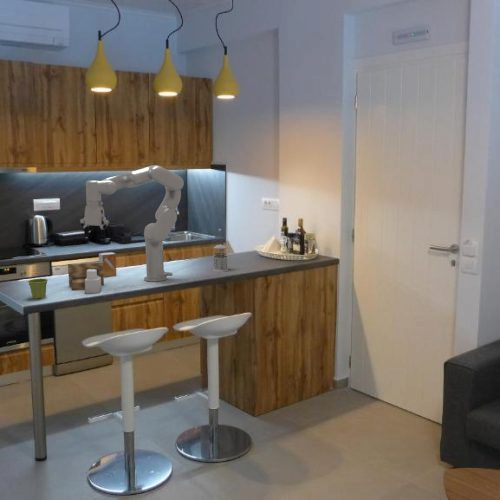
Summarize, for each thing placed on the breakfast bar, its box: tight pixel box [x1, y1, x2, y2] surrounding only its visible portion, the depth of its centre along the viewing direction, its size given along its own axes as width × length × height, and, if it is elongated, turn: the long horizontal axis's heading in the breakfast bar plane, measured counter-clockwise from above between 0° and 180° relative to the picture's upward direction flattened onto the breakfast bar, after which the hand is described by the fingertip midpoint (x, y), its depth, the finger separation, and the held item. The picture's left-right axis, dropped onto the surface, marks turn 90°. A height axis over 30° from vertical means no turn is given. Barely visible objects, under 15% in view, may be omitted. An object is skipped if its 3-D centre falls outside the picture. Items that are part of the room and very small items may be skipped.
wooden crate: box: [67, 262, 105, 291], centre depth 327 cm, size 18×10×12 cm, turn 102°
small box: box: [98, 251, 117, 278], centre depth 357 cm, size 8×6×13 cm
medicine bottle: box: [84, 268, 102, 294], centre depth 317 cm, size 7×7×12 cm
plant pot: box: [27, 278, 49, 300], centre depth 306 cm, size 9×9×9 cm
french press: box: [212, 228, 229, 272], centre depth 369 cm, size 10×12×25 cm
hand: (94, 236), depth 328 cm, fingers open, 9 cm apart
